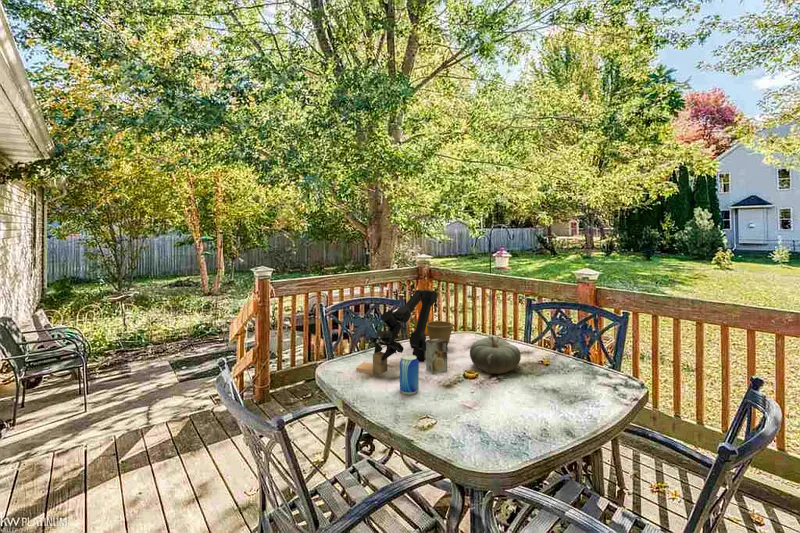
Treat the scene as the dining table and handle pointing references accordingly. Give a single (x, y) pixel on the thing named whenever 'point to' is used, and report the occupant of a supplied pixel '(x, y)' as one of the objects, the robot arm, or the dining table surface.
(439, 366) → the coffee box
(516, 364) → the gourd
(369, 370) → the terracotta tile
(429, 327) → the plant pot
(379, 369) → the walnut block
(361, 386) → the dining table surface
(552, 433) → the dining table surface
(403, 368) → the beer can
